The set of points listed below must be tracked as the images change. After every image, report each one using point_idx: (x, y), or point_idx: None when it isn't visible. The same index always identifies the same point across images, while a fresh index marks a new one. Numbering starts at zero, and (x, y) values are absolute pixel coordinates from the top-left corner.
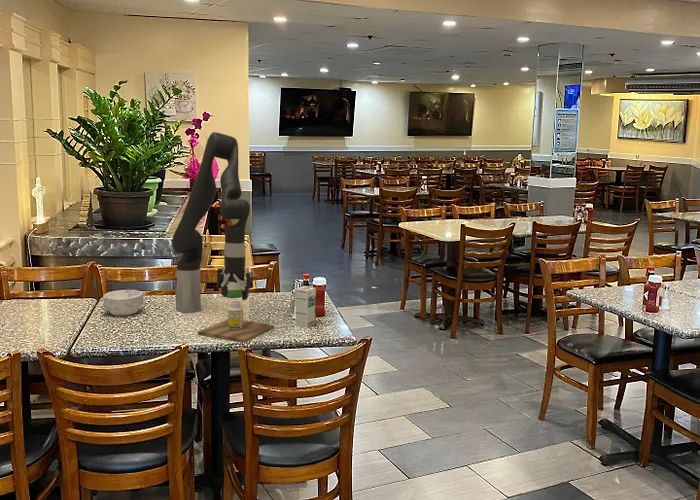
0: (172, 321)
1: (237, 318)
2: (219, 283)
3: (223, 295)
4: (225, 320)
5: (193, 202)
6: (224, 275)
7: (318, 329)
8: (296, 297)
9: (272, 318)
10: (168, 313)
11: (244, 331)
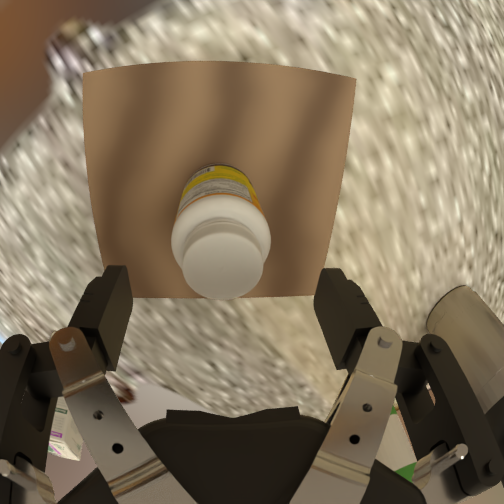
0: (473, 204)
1: (187, 193)
2: (421, 347)
3: (333, 272)
4: (319, 266)
5: None
6: (407, 438)
7: (24, 324)
8: (65, 414)
9: (195, 361)
10: (486, 262)
11: (149, 169)
